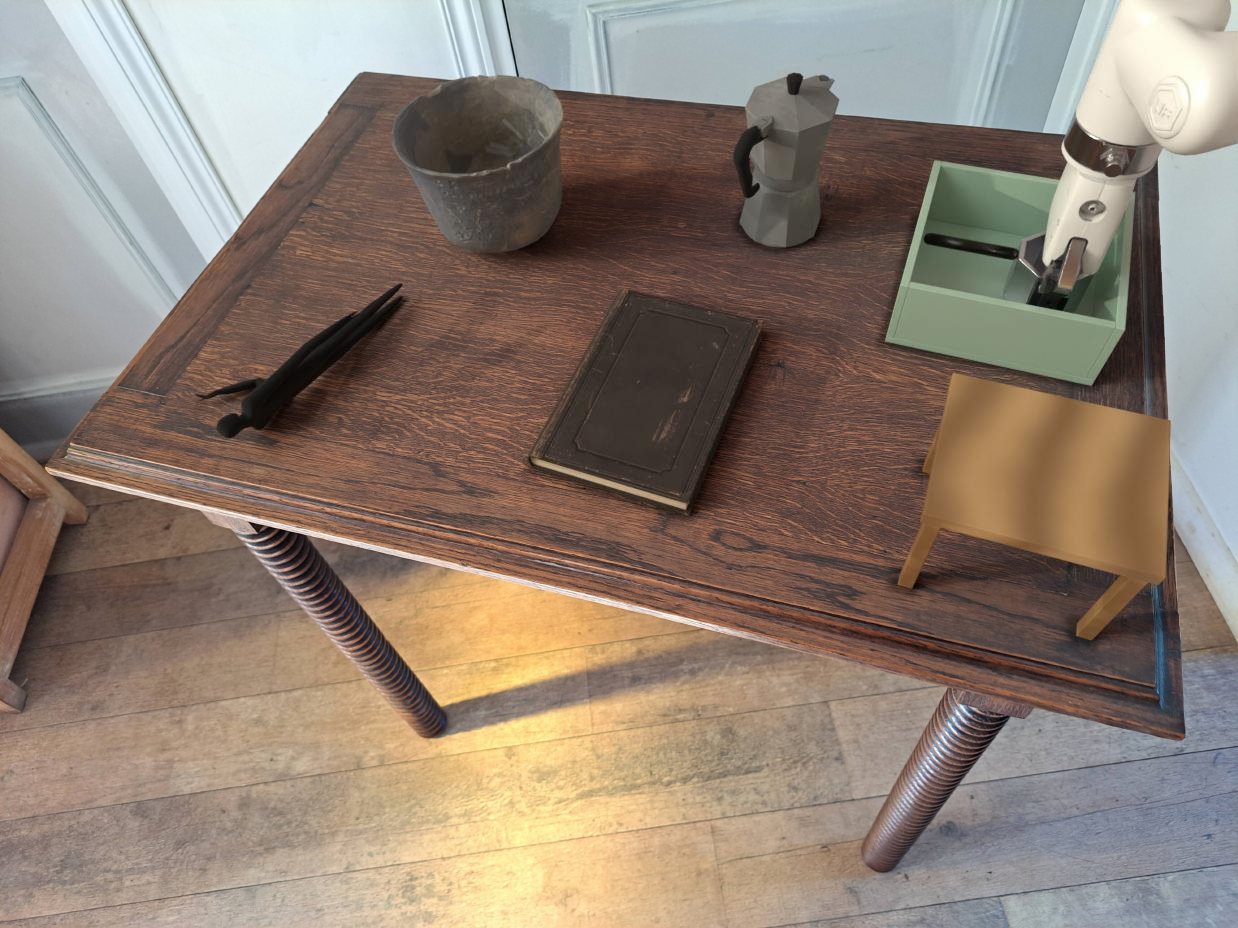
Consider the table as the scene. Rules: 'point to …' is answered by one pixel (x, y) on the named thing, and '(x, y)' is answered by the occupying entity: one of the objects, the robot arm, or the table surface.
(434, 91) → the cup
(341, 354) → the dark humanoid figurine
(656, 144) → the table surface
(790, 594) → the table surface
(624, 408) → the hardcover book
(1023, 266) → the saucepan
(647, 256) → the table surface
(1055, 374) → the basin
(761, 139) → the coffeepot
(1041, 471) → the stand
